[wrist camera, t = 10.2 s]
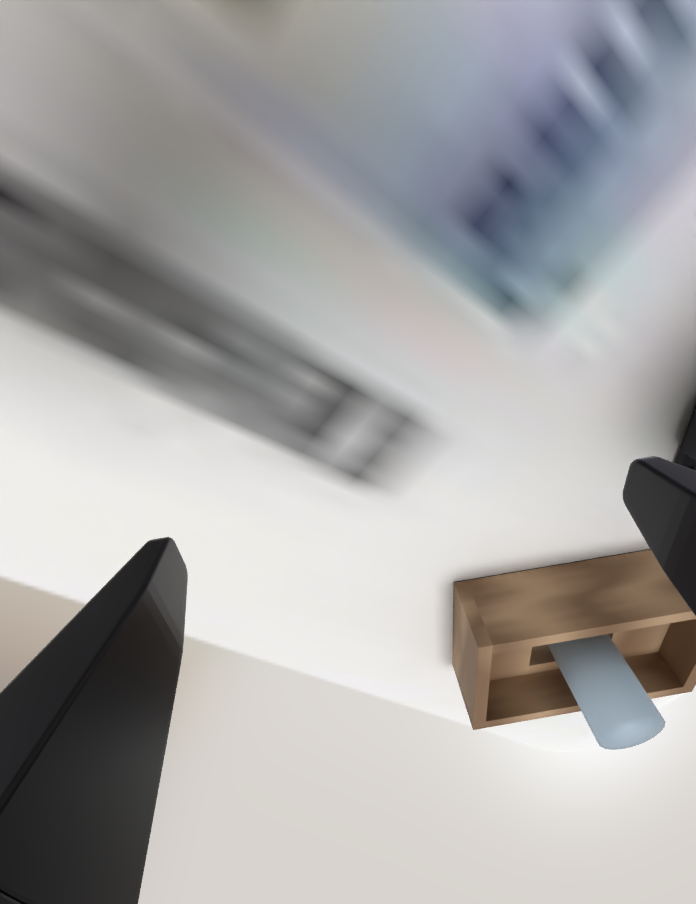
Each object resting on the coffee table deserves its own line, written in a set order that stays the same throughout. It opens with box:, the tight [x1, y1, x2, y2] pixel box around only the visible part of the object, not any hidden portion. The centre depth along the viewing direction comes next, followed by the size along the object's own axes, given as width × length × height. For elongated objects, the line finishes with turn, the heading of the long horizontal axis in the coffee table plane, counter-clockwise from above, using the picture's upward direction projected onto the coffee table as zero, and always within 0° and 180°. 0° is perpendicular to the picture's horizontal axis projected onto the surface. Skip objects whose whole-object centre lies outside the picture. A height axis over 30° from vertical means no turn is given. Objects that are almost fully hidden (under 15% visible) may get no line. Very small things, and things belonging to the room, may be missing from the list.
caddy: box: [453, 549, 696, 730], centre depth 30 cm, size 15×9×4 cm, turn 97°
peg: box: [547, 634, 665, 749], centre depth 28 cm, size 4×4×8 cm
